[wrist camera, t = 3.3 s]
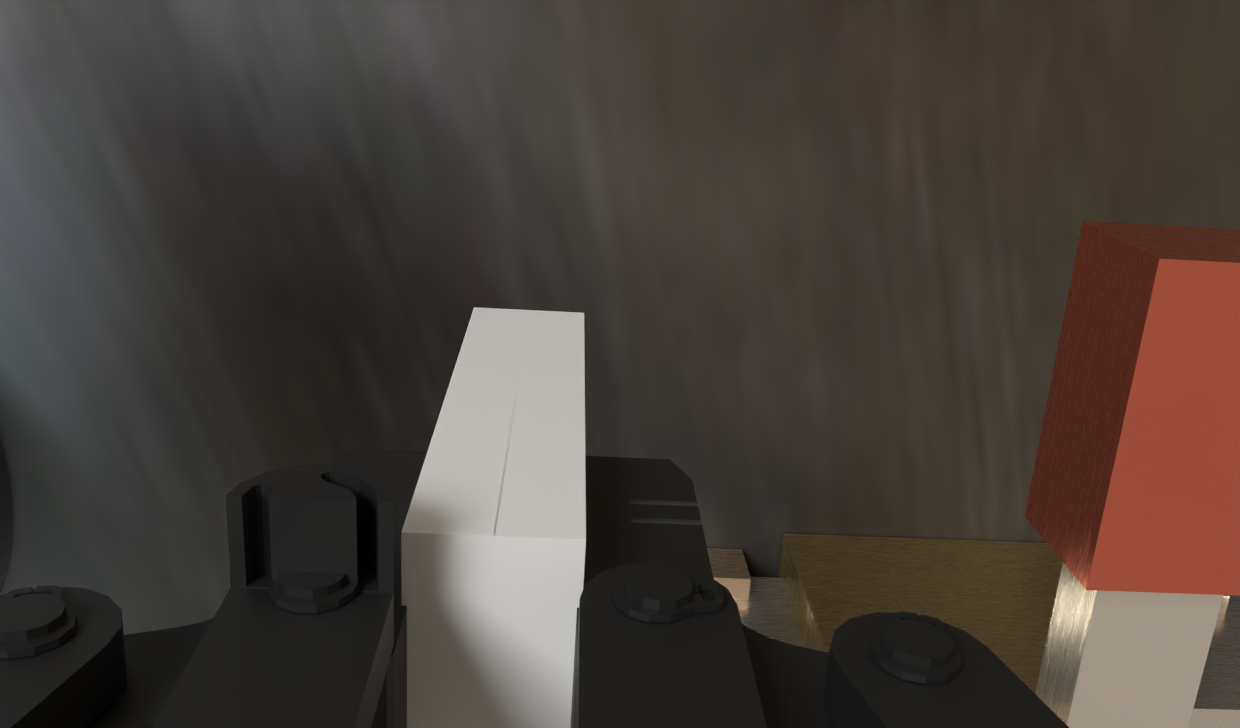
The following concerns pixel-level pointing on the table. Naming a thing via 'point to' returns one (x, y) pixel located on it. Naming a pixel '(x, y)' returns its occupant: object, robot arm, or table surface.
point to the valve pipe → (943, 600)
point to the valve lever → (1141, 472)
